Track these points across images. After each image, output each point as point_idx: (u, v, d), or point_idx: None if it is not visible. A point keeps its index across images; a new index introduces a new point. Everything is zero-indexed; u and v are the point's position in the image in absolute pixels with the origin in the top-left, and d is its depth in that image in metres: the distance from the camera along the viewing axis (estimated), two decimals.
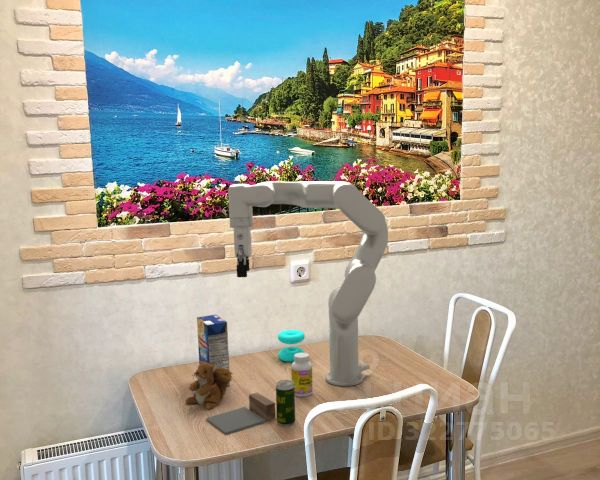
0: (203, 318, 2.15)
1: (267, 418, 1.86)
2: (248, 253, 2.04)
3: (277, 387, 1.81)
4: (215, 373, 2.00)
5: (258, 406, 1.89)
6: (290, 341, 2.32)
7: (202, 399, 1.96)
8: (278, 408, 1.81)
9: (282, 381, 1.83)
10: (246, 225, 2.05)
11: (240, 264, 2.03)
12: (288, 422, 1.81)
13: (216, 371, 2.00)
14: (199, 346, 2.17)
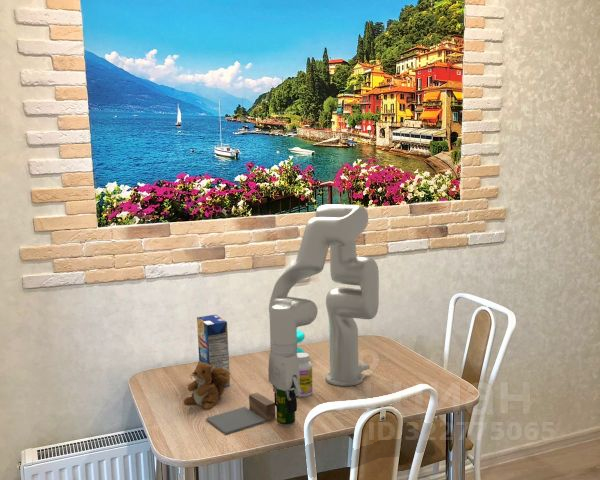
0: (203, 318, 2.15)
1: (267, 418, 1.86)
2: None
3: (277, 387, 1.81)
4: (213, 373, 2.00)
5: (258, 406, 1.89)
6: None
7: (200, 400, 1.96)
8: (278, 408, 1.81)
9: None
10: None
11: None
12: (288, 422, 1.81)
13: (214, 371, 2.00)
14: (199, 346, 2.17)
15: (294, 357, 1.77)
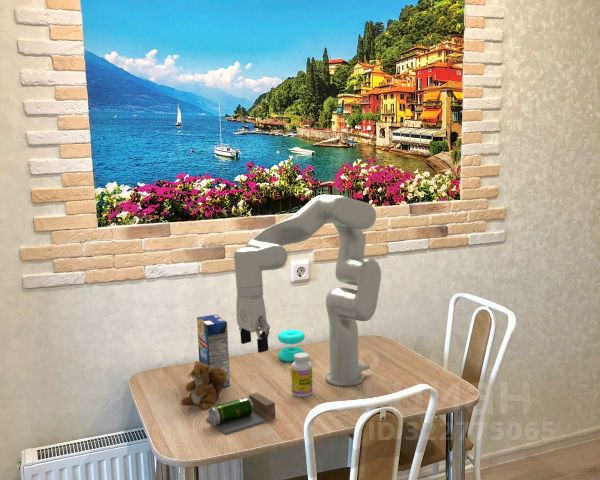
0: (203, 318, 2.15)
1: (267, 418, 1.86)
2: None
3: None
4: (211, 373, 2.00)
5: (258, 406, 1.89)
6: (290, 341, 2.32)
7: (198, 400, 1.96)
8: None
9: (210, 414, 1.83)
10: None
11: None
12: (250, 412, 1.86)
13: (212, 371, 2.01)
14: (199, 346, 2.17)
15: (260, 299, 1.81)
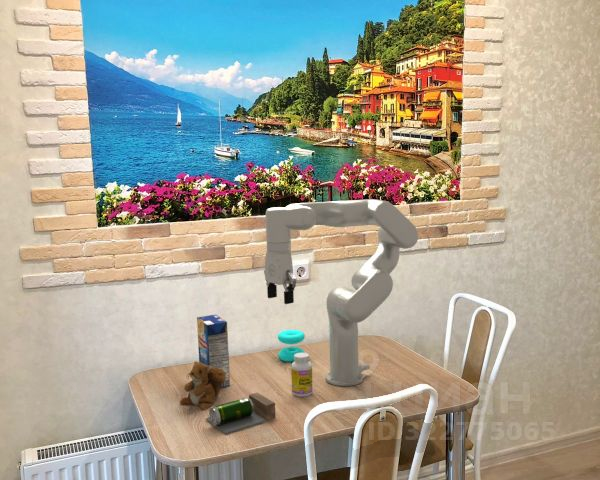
0: (203, 318, 2.15)
1: (267, 418, 1.86)
2: None
3: None
4: (210, 373, 2.00)
5: (258, 406, 1.89)
6: (290, 341, 2.32)
7: (197, 400, 1.96)
8: None
9: (210, 414, 1.83)
10: None
11: None
12: (250, 413, 1.86)
13: (210, 371, 2.01)
14: (199, 346, 2.17)
15: (288, 254, 1.97)
